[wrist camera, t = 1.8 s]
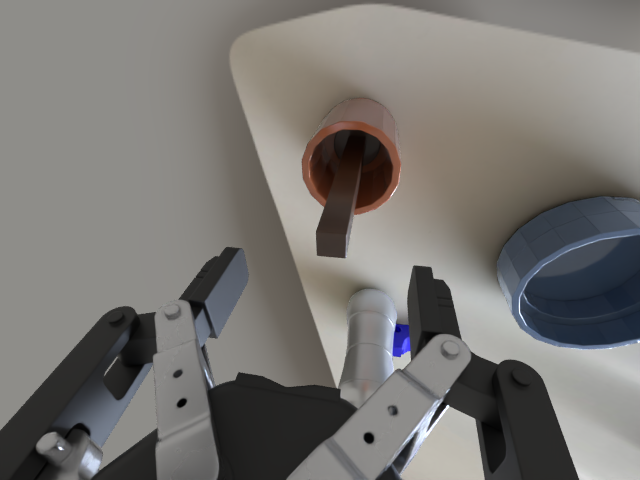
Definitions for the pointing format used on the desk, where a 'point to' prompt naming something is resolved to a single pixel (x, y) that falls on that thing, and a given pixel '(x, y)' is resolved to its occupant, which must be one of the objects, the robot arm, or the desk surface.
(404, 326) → the cable holder
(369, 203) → the crock
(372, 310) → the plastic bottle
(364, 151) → the disc-ended square rod
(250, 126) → the desk surface
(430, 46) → the desk surface
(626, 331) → the bowl
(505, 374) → the robot arm
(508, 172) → the desk surface
